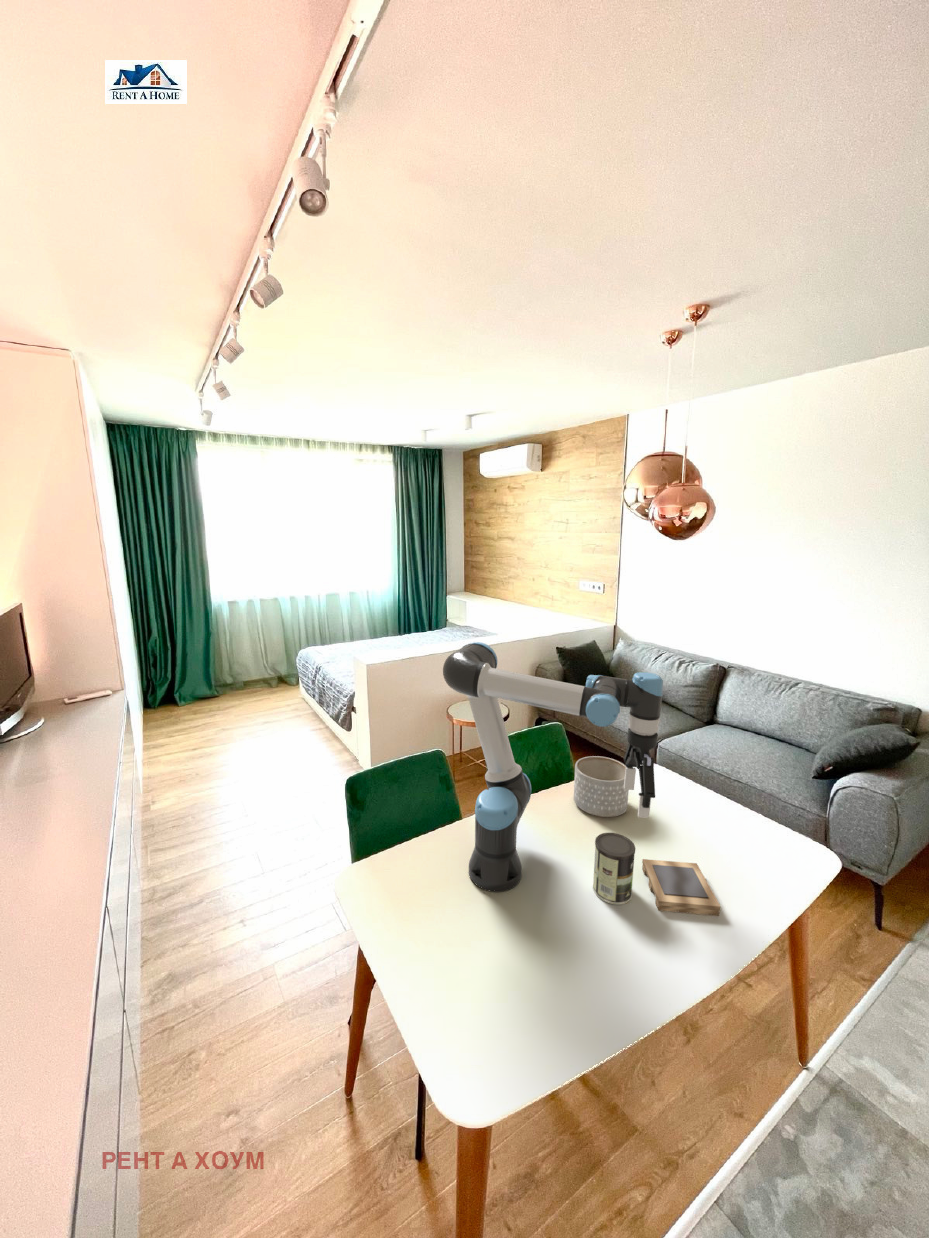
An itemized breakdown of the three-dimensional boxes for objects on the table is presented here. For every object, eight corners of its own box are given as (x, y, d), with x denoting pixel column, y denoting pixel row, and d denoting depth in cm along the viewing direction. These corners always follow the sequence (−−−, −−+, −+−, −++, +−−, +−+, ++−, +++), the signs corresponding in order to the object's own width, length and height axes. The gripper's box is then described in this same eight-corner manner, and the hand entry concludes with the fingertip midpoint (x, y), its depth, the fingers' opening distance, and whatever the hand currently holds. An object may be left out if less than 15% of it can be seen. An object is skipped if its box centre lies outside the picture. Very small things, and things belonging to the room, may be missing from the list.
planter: (593, 786, 181) (595, 751, 178) (637, 807, 167) (640, 770, 164) (562, 802, 169) (564, 766, 167) (607, 827, 155) (610, 787, 152)
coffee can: (628, 880, 131) (632, 834, 129) (634, 908, 121) (638, 859, 119) (591, 874, 133) (593, 829, 131) (593, 901, 123) (596, 853, 121)
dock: (658, 911, 120) (659, 899, 120) (641, 868, 136) (642, 857, 135) (719, 916, 118) (720, 905, 118) (695, 872, 134) (696, 862, 134)
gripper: (674, 752, 113) (665, 831, 117) (642, 713, 137) (636, 779, 141) (643, 750, 113) (634, 829, 117) (617, 712, 138) (610, 778, 142)
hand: (635, 802), depth 129 cm, fingers open, 13 cm apart
